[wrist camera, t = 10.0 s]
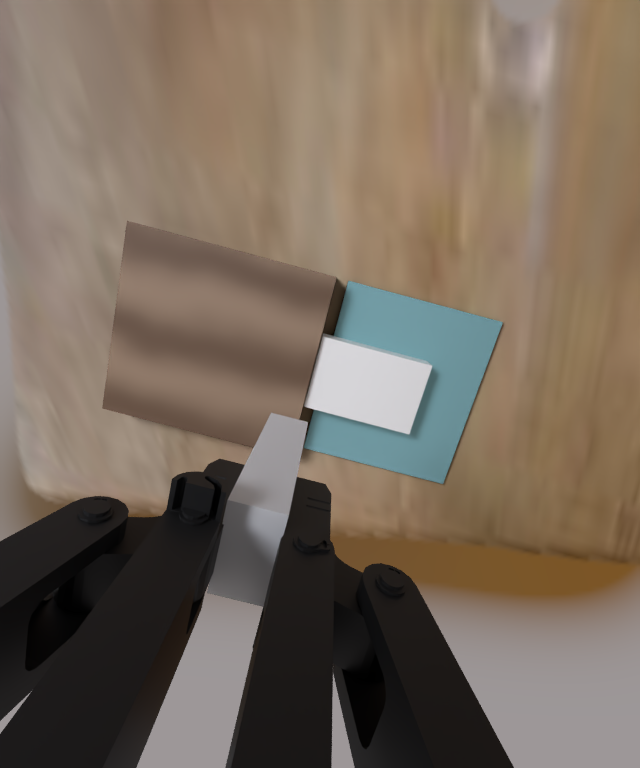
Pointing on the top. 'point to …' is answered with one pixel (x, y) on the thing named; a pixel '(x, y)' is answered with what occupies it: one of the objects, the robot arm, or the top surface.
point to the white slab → (367, 384)
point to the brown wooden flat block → (211, 335)
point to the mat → (441, 394)
